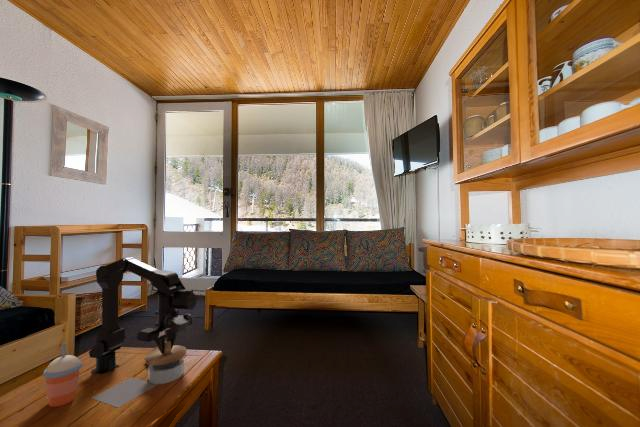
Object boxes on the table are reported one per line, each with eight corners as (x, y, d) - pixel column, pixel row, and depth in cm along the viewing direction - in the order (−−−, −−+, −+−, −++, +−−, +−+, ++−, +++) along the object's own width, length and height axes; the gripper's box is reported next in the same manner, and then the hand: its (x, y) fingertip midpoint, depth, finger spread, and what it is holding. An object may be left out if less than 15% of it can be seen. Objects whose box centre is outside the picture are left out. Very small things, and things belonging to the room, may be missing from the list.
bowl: (141, 381, 100) (141, 368, 100) (168, 366, 110) (168, 354, 110) (163, 387, 96) (164, 374, 96) (190, 371, 106) (190, 359, 106)
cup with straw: (62, 392, 93) (63, 337, 94) (88, 392, 93) (90, 337, 94) (33, 410, 84) (34, 349, 85) (62, 411, 84) (64, 349, 85)
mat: (90, 399, 90) (90, 397, 90) (131, 378, 102) (131, 377, 102) (118, 409, 85) (118, 407, 85) (157, 385, 97) (157, 384, 97)
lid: (136, 361, 99) (137, 346, 100) (169, 346, 111) (169, 332, 112) (163, 368, 95) (163, 352, 95) (194, 351, 107) (194, 337, 107)
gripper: (159, 318, 92) (159, 367, 91) (203, 303, 109) (203, 344, 109) (136, 314, 96) (135, 361, 96) (181, 300, 113) (181, 340, 113)
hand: (166, 351), depth 103 cm, fingers closed on lid, 3 cm apart
